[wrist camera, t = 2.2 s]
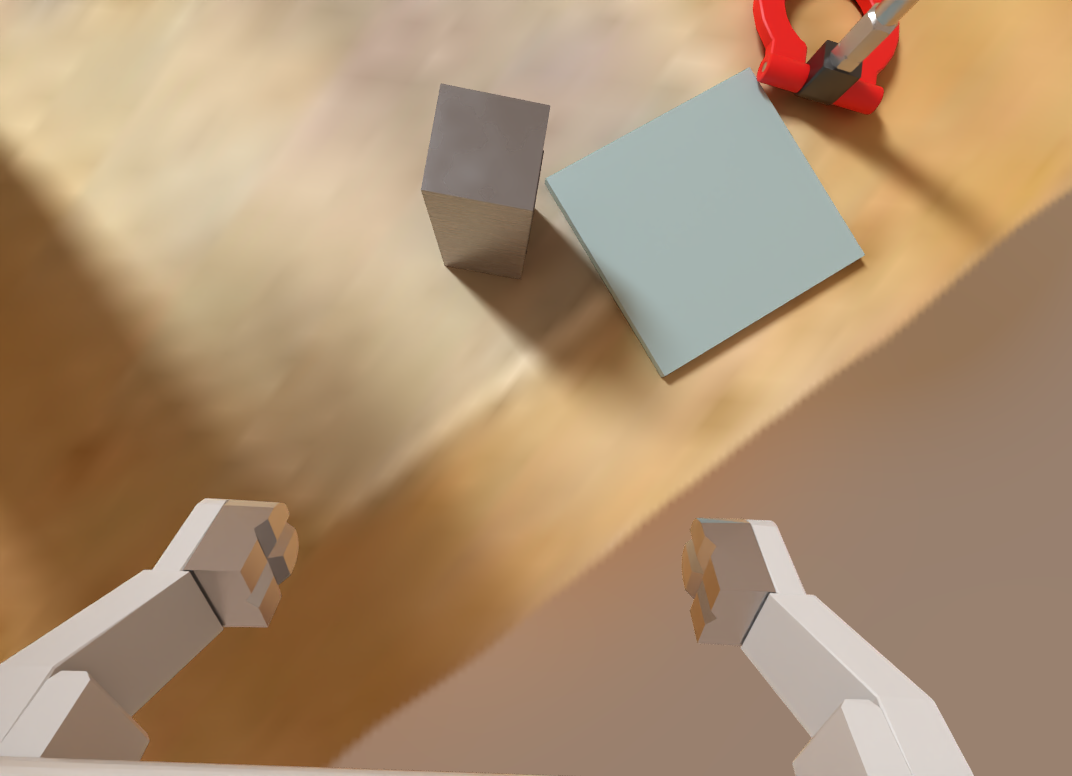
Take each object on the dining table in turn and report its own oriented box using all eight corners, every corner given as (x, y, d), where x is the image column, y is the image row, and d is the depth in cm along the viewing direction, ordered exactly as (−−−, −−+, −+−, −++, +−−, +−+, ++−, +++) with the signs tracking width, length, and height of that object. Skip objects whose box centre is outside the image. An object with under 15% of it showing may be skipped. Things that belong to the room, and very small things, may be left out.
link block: (521, 279, 28) (534, 210, 19) (443, 265, 28) (419, 189, 19) (533, 206, 29) (551, 105, 20) (456, 191, 28) (439, 83, 19)
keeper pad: (661, 377, 28) (664, 376, 28) (544, 183, 29) (545, 178, 28) (857, 258, 30) (865, 254, 29) (744, 74, 30) (749, 67, 29)
